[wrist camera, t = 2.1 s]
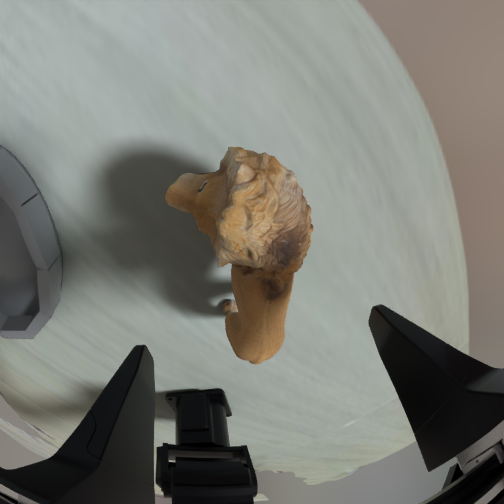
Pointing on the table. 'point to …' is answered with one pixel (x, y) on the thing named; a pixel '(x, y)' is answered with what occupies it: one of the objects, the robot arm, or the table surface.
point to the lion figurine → (251, 241)
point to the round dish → (26, 253)
